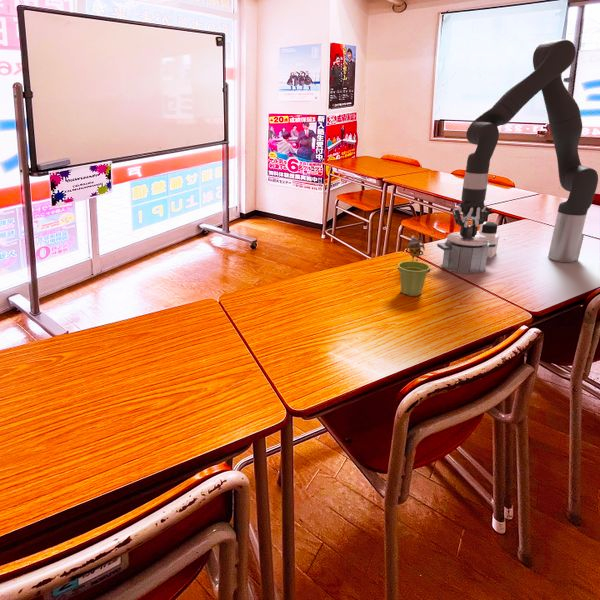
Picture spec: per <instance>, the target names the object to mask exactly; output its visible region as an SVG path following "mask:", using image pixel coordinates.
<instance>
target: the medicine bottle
mask: <svg viewBox="0 0 600 600" xmlns="http://www.w3.org/2000/svg"><path fill="white" fill-rule="evenodd" d="M497 231H498V224H497V223H495V222H493V221H485V222H484V223H483V224H480V225H479V230H478V234H481V235H484V236H486V237H487V238H488V239H489V241H491V242H493V243H495V244H496V246H495V247H488V253H487V258H490V259H492V258H493V257H494V256H495V255H496V254H497V250H498V245H499V244H498V243H499V239H500V236H499V235H498V234H497V233H498V232H497Z"/></svg>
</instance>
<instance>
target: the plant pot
mask: <svg viewBox="0 0 600 600" xmlns="http://www.w3.org/2000/svg"><path fill="white" fill-rule="evenodd" d="M398 267H399V268H398ZM397 268H398V269H399V273H400V274H399V275H400V291H401V294H404V295H405V294H406V295H407V296H410V297H412V296H413V297H414V296H415V297H416V296H419V295H420V294H421V295H422V292H423V289H424V285H425V282H426V277H427V274H428V273H429V272H428V270H429V269H430V270H431V265H429V264H428V263H425V262H423V261H422V262H421V261H415V260H414V261H412V260H407V261H406V260H405V261H401V262H399V263H398V264H397Z"/></svg>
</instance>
